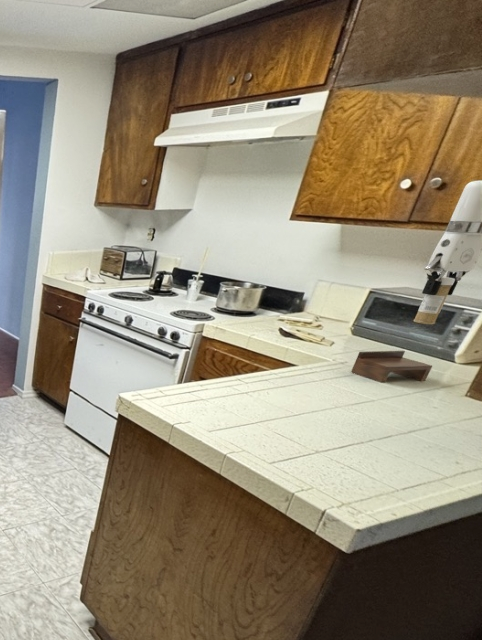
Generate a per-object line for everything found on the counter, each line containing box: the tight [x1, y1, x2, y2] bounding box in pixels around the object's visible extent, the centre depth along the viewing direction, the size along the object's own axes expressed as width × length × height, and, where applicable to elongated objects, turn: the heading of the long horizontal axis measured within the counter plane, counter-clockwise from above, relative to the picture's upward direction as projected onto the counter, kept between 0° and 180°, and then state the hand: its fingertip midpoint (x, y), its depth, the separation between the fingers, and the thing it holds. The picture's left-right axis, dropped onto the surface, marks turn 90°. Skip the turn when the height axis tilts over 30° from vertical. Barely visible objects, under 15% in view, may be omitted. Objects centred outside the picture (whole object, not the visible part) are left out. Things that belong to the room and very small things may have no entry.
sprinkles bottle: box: [413, 276, 455, 325], centre depth 138 cm, size 5×5×13 cm
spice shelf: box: [350, 350, 433, 383], centre depth 146 cm, size 9×16×7 cm, turn 98°
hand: (436, 293), depth 137 cm, fingers closed on sprinkles bottle, 4 cm apart
